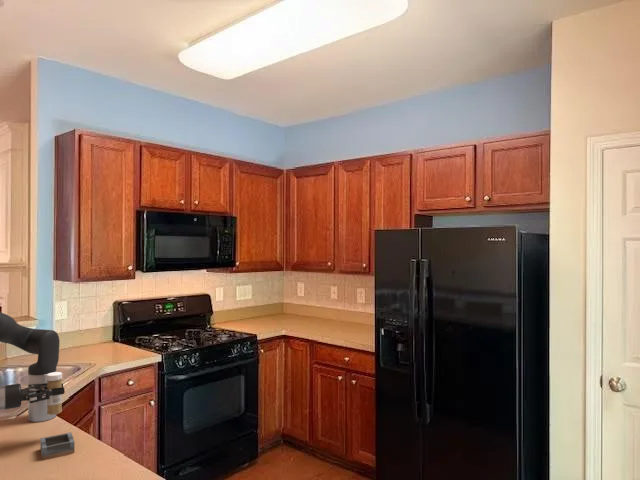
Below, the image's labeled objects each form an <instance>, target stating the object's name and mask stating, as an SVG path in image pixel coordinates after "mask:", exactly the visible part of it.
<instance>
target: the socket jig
mask: <svg viewBox="0 0 640 480" xmlns="http://www.w3.org/2000/svg"><path fill="white" fill-rule="evenodd" d="M39 441H40V446H39V447H40V454H41V455H40V456H41V460H47V459H52V458H57V457H61V456H66V455H71V454H74V453H76V452H75V450H76V449H75V439H74V436H73V433H72V432H67V433H66V432H65V433H62V434H61V433H60V434H56V435H51V436H46V437H42V438H40V440H39Z"/></svg>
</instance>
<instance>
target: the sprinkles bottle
mask: <svg viewBox="0 0 640 480" xmlns="http://www.w3.org/2000/svg"><path fill="white" fill-rule="evenodd" d="M62 380H63V373H62V372H61V371H56V372H52V373H49V374H47V389H54V388H60V387H62V384H63V383H62ZM62 402H63V394H61V395H55V396H52V397H50V399H47V414H49V415H55V414H56V415H58V414H61V413H62V412H63V408H62V407H63V406H62V404H63V403H62Z"/></svg>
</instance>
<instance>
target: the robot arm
mask: <svg viewBox="0 0 640 480" xmlns="http://www.w3.org/2000/svg"><path fill="white" fill-rule="evenodd" d="M0 343H3V344H8V345H11V346H14V347H16V348H18V349H20V350H22V351H25V352H26V353H28V354H32V355H37V361H36V362H35V363H32V364H30V365H29V366H28V370H27V376H28V377H27V379H28V380H27V387H25V388H22V384H20V383H14V384H7V385H6V384H5V385H0V411H6V410H11V409H18V408H21V407H22V402H27V403H28V404H27V407H28V409H27V419H28V421H29V422H32V423H33V422H35V423H37V422H38V423H39V422H45V421H49V420H51V419H52V420H53V419H54V418H56V416H57V414H55V415H49V414H47V399H50V397H52V396H55V395H61V394H62V395H65V387H64V383H62V387H60V388H54V389H47V374H49V373H52V372H57V367H58V363H59V360H60V359H59V358H60V337H59V334H58V333H57V331H55V330H54V329H53V330H52V329H39V328H31V327H27V326H23V325H21V324H19V323H18V322H17V321H16V320H15V318H13V317H12V316H10V315H8V314H6V313H3V312H1V311H0Z"/></svg>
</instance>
